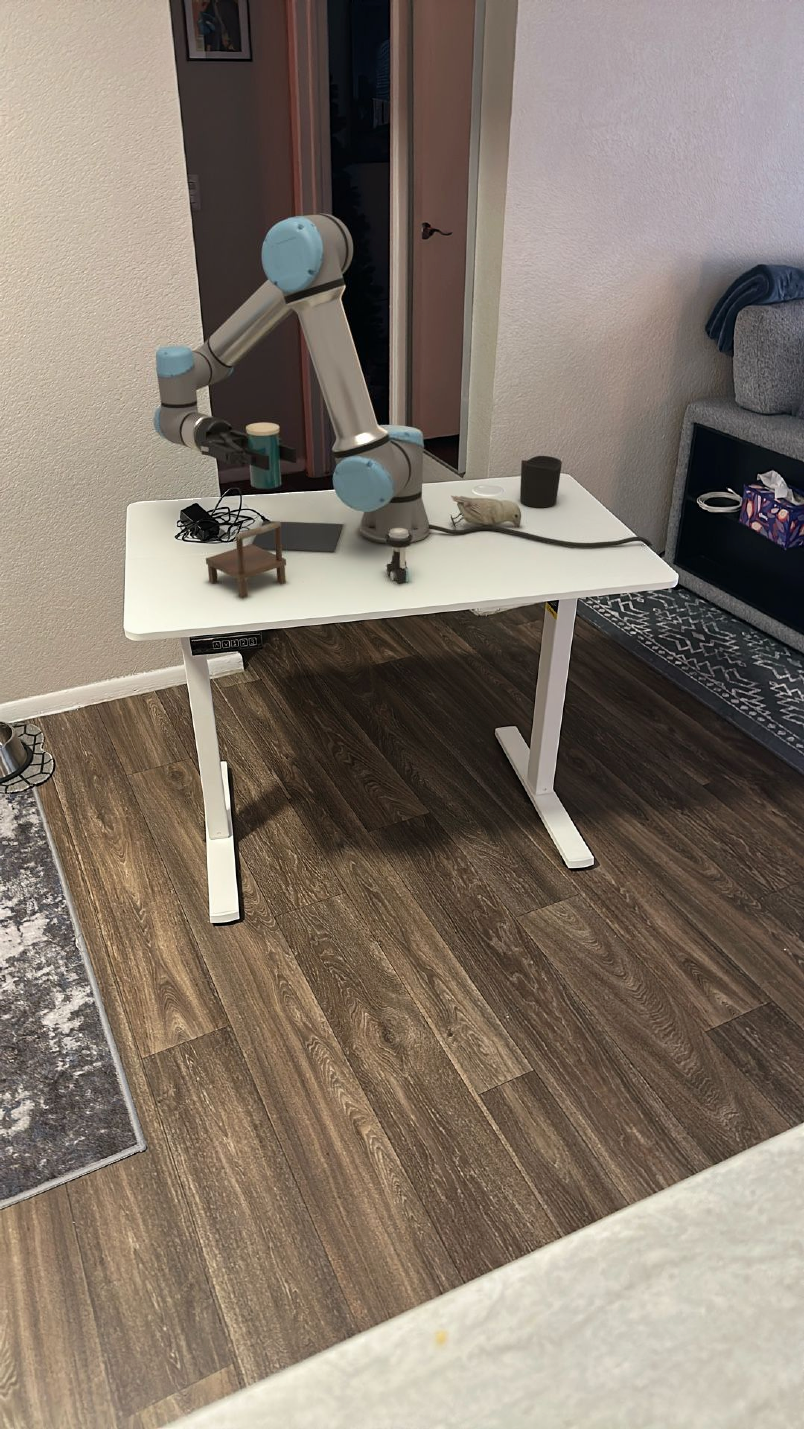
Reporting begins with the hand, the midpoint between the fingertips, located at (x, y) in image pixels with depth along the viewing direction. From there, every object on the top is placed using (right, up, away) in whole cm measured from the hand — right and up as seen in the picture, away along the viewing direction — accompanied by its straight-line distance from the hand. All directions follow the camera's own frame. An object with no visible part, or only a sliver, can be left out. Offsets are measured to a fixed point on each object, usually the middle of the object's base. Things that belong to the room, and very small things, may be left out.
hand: (281, 459), depth 183 cm
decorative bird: (+42, -7, +32) cm, 53 cm away
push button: (+22, -22, +7) cm, 32 cm away
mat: (0, -10, +25) cm, 27 cm away
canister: (-4, -3, +6) cm, 8 cm away
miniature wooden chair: (-7, -23, +4) cm, 25 cm away
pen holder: (+56, +2, +47) cm, 73 cm away
